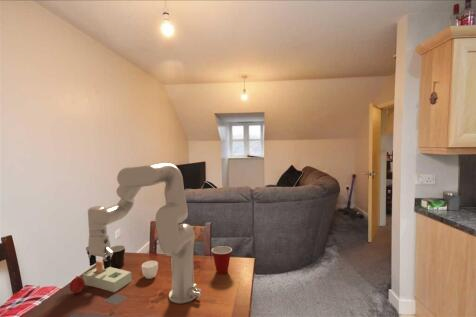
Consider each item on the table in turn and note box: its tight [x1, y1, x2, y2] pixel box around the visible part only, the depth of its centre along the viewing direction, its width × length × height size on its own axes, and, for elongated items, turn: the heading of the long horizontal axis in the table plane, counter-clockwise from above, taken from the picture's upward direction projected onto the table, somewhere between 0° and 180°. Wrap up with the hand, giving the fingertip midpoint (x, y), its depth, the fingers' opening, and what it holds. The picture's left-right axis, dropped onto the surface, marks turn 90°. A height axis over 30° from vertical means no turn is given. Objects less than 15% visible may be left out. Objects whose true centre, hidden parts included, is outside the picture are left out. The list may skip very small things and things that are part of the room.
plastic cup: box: [211, 245, 233, 275], centre depth 133 cm, size 11×11×12 cm
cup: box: [141, 260, 159, 279], centre depth 130 cm, size 8×10×7 cm
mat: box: [103, 292, 129, 306], centre depth 110 cm, size 8×6×1 cm
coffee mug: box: [110, 244, 126, 269], centre depth 139 cm, size 12×9×10 cm
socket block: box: [82, 264, 132, 293], centre depth 124 cm, size 20×10×5 cm, turn 68°
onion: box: [69, 275, 86, 294], centre depth 116 cm, size 6×6×8 cm
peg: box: [95, 259, 104, 274], centre depth 125 cm, size 3×3×10 cm
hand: (100, 266), depth 125 cm, fingers open, 9 cm apart
